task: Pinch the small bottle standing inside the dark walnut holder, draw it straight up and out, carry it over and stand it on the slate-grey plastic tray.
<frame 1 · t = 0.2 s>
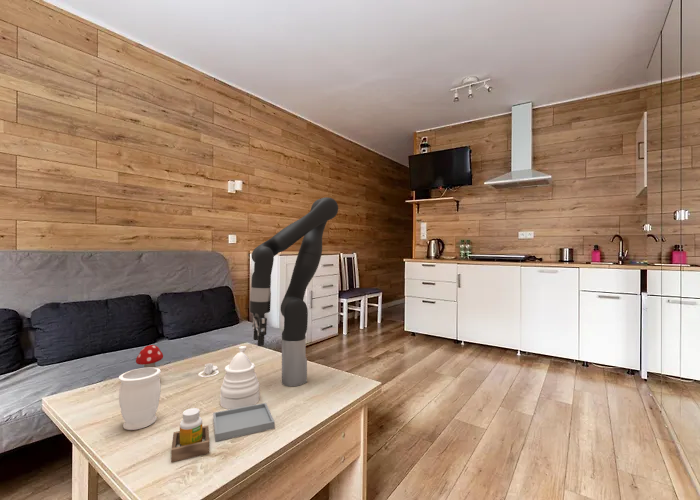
hand: (258, 342, 123), 17 cm above the table, tool pointing down, fingers open, 8 cm apart
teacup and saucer: (216, 373, 139), on the table
honey pot: (240, 401, 114), on the table
supplement bottle: (191, 449, 87), resting in holder
tray: (243, 423, 99), on the table
jar: (140, 423, 99), on the table
decorative mushroom: (149, 385, 127), on the table
holder: (191, 448, 87), on the table
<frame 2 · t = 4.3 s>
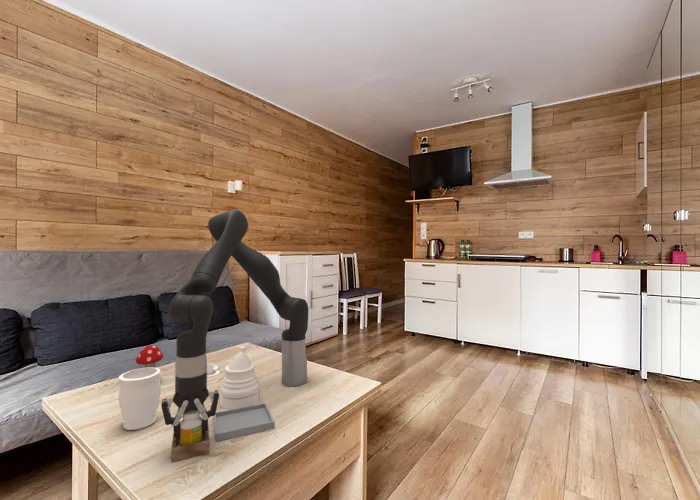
hand: (191, 434, 87), 4 cm above the table, tool pointing down, fingers closed on supplement bottle, 5 cm apart
supplement bottle: (190, 448, 87), resting in holder, touching gripper
everything else where it was.
when the fingers open (6 cm above the table, at t = 10.3 s): supplement bottle drops 1 cm, resting on tray.
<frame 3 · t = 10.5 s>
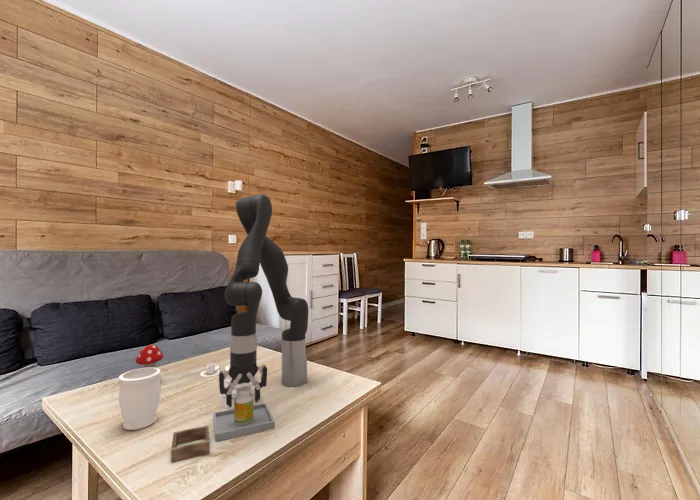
hand: (243, 403, 99), 6 cm above the table, tool pointing down, fingers open, 7 cm apart
supplement bottle: (243, 421, 99), point 1 cm above the table, touching tray
everything else where it was.
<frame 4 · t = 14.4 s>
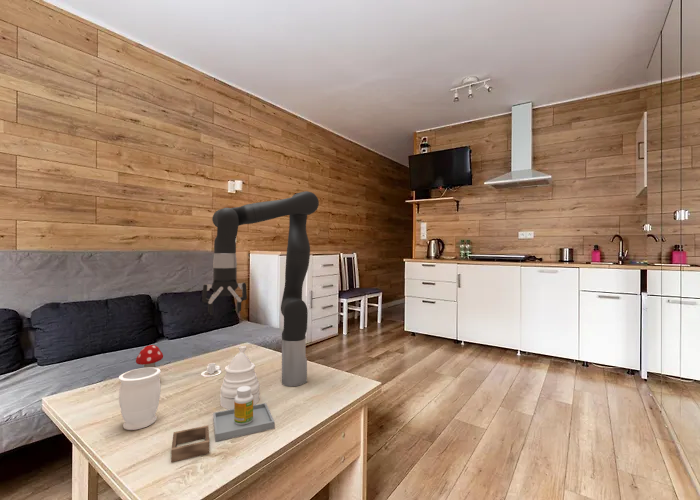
hand: (224, 313, 113), 30 cm above the table, tool pointing down, fingers open, 8 cm apart
at the end: supplement bottle inside the target area on the tray (0.2 cm from its centre), point 0.6 cm above the tray's base; supplement bottle tilted 0°; the gripper is holding nothing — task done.
